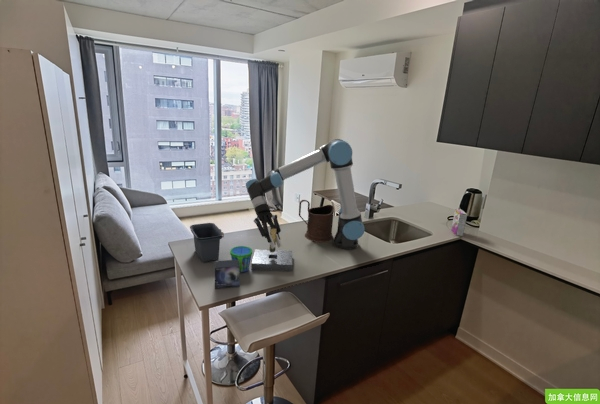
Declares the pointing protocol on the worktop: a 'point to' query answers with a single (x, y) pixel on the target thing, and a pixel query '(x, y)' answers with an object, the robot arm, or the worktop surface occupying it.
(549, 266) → the worktop surface
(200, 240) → the storage bin
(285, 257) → the plate
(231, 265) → the small box
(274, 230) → the brass pin
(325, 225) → the brown metal pitcher
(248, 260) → the snack cup
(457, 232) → the candy bar box
